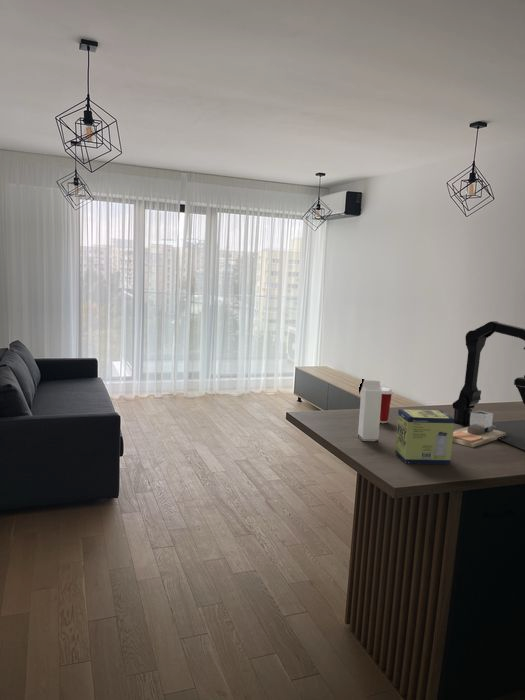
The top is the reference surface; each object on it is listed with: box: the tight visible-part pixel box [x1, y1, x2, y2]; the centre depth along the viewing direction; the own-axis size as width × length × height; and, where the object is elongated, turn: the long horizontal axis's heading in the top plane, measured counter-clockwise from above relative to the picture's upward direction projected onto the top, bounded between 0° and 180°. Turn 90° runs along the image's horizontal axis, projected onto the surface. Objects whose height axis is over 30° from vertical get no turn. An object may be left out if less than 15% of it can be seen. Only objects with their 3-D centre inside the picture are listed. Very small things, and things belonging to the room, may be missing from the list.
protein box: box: [394, 408, 455, 465], centre depth 176 cm, size 10×16×16 cm
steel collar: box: [469, 410, 494, 428], centre depth 207 cm, size 6×6×5 cm
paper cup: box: [380, 386, 393, 421], centre depth 221 cm, size 8×8×14 cm
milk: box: [357, 380, 382, 440], centre depth 194 cm, size 6×6×22 cm
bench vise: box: [467, 413, 497, 435], centre depth 208 cm, size 5×14×7 cm, turn 131°
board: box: [452, 426, 507, 448], centre depth 205 cm, size 13×26×2 cm, turn 131°
